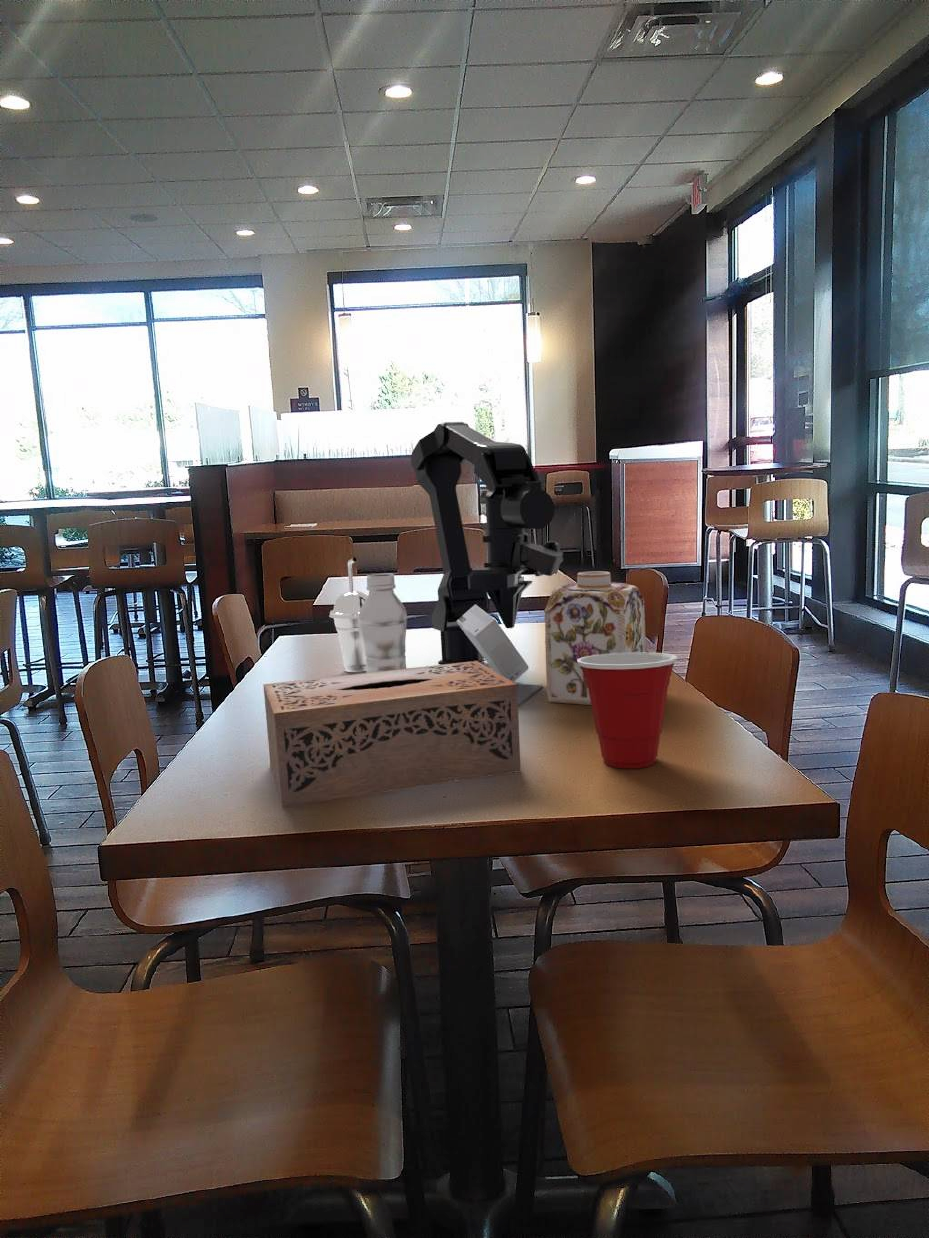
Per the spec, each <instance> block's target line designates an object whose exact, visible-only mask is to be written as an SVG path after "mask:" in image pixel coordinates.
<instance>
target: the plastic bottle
mask: <svg viewBox="0 0 929 1238" xmlns="http://www.w3.org/2000/svg"><path fill="white" fill-rule="evenodd" d="M394 575H395V574H394V573H377V574H375V573H374V574H369V575H366V591H368V595H367V596H368V597H367V598H366V600H365V601H364V603H363V605H362V607H361V609H360V612H359V623H360V628H361V633H362V637H363V642H364V648H365V656H366V664H367V671H366V673H371V672H380V671H389V670H398V669H407V664H406V663H407V661H406V658H407V657H406V651H407V650H406V637H407V624H408V623H407V621H408V614H407V610H406V607H405V605H404V604H403V603H402V601H401V599H400V598H399V597H398V596H397V595H396V594H395V592H394V589H396V583H395V576H394Z"/></svg>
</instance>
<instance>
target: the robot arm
mask: <svg viewBox="0 0 929 1238" xmlns="http://www.w3.org/2000/svg"><path fill="white" fill-rule="evenodd" d="M465 461H467V462H469V463H470V464H472V465H473V466H474V467H473V469H474V470H473V473H474V474H475V476H477V478H478V479H479V480H480V481H481V482H482V483H483V484H484V485H485V486H486V488H484V489H483V490H482V491H481V493H480V498H481V499H485V515H486V516H485V517H486V520H485V521H486V534H485V535H482V543H483V544H484V543H487V554H488V555H487V557H488V558H487V559H488V560H487V561H486V562H484V563H483V565H484V566H483V567H478V568H475V569H473V568H472V566H471V563H470V561H471V560H470V557H469V552H468V551H469V550H468V546H467V540H466V536H465V530H464V525H463V519H462V514H461V509H460V504H459V499H458V492H457V486H458V483H459V480H460V479H461V477H462V474H463V472H462V471H463V470H462V469H463V468H462V465H463V464H464V462H465ZM410 463H411V467H412V468H413V470H414V473H415V476H416V477H415V478H416V480H417V483H418V485H420V487H421V488H423V490H424V491H425V493H427V494H428V497H429V501H430V507H431V511H432V512H431V513H432V517H433V523H434V529H435V535H436V539H437V543H438V550H439V556H440V561H441V567H442V573H443V575H442V577H441V580H440V583H439V585H438V587H437V588H438V589H437V596H438V599H437V601H436V604H435V607H434V609H433V611H432V613H431V616H430V617H431V623H432V624H431V625H432V628H433V630H437V631H439V632H440V646H441V659H440V660H438V662H437V663H438V664H437V665H443V664H453V663H462V662H471V661H478V662H479V663H480V661H482V660H485V659H484V657H483V656H482V655H481V653H480V652H479V651H478V650H477V648H476V647H475V646H474V644H473V643H472V642H471V640H470V639H469V638H468V637H467V635H466V634H465V633H464V631H463V630H462V629H461V627H460V626H459V625H458V623H457V620H458V619H459V618H461V617H462V616H463V615H464V614H465V613H466V612H467V611H468V610H469V609H470V608H472V607H473V606H474V605H477V606H478V607H480V608H481V609H482V610H484V611H485V612H486V613H488V614H489V612H490V603H491V602H492V604H493V607H494V608H495V610H496V612H497V613H498V615H499V617H500V619H501V621H502V623H503V625H504V627H505V628H506V629H514V627H515V626H516V625H515V624H516V621H517V615H518V612H519V611H518V610H519V606H520V602H521V598H522V594H523V592H524V591H525V590H526V589H528V588H529V586H530V585H532V583H533V580H525V577H524V576H530V575H531V576H533V575H534V576H535V577H541V576H548V577H551V576H553V575H554V574H555V575H556V574H558V572H559V569H560V565H561V563H562V562H564V557H563V555H564V552H563V551H562V550H561V544H560V543H559V542H556V541H553V540H549V541H547V542H546V543H545V544H544V545H542V544H535V543H533V542H532V541H531V535H530V534H529V532H525V530H526V529H528V530H531V529H532V530H541V529H543V528H545V527H547V526H549V524H550V523H551V521H552V520H553V518H554V516H555V511H556V508H555V503H554V501H553V498H552V497H551V495H550V494H549V493H548V492H547V491H545V490H543V489H542V482H541V481H540V480H539V478H540V476H539V475H538V474H539V473H537V471H536V470H535V468H534V465H533V463H532V461H531V458H530V456H529V454H528V452H527V450H526V448H525V447H524V446H523V445H522V444H519V443H515V442H501V441H495V440H493V439H491V438H489V437H488V436H486V435H484V434H483V433H480V432H479V431H477V430H475V429H473V428H472V427H470V425H469V424H468V423H465V422H464V421H445V422H444V421H442V422H441V423H438V424H437V425H436V426H435V429H434V430H433V431H430V433H428V434H427V435H425V436H424V437H422V438H420V439H419V440H418V441H417V443H416V445H415V446H414V448H413V450H412V452H411V457H410ZM561 551H562V552H561ZM490 600H491V602H490Z"/></svg>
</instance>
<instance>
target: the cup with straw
mask: <svg viewBox="0 0 929 1238" xmlns="http://www.w3.org/2000/svg"><path fill="white" fill-rule="evenodd" d="M355 562H357V558H356V557H353V558H351V559H349V560H348V561H347V571H348V572H347V573H348V584H349V585H348V587H349V589H348V590H349V591H346V592H344V593H342V594H340V595H339V596H338V597H337V599H336V600H335V602H334V605H333V609H332V610H330V611H329V615H328V616H329V618H331V619H333V620H334V626H335V630H336V632H337V637H338V641H339V647H340V651H341V657H342V664H343V665H344V668H345V669H344V671H345V672H346V673H365V672H367V664H366V656H365V648H364V642H363V637H362V633H361V628H360V623H359V612H360V609H361V607H362V605H363V603H364V601H365V600H366V598H367V597H368V595H367V594H365V593H364V592H361V591H359V590H357V591H356V590H354V580H353V579H354V577H353V575H354V574H353V566H352V565H353V564H354V563H355Z"/></svg>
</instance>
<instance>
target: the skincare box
mask: <svg viewBox="0 0 929 1238" xmlns="http://www.w3.org/2000/svg"><path fill="white" fill-rule="evenodd" d="M457 623H458V625H459V626H460V627H461V629H462V630H463V631H464V633H465V634H466V635H467V637H468V638H469V639H470V640H471V642H472V643H473V644H474V646H475V647H476V648H477V650H478V651H479V652H480V653H481V655H482V656H483V657H484V659H483V660H485V661H486V663H487V664H488V666H490V667H489V668H490V669H491V670H493V671H495V672H497V673H498V674H500V675H502V676H503V677H505V678H507V679H509V680H510V681H512V682H514V683H515V681H516V680H518V679H519V678H520V677H521V676H522V675H524V674H525V673H526V672H527V671H528V670H529V669H530V668H529V665H528V663H527V662H526V661H525V659H524V658H523V656H522V655H521V654H520V652H519V651H518V649H517V648H516V646H515V645H514V644H513V642H512V641H511V639H510V638H509V637H508V636H507V634H506V633H505V631H504V630H503V629H502V627H501V626H500V625H499V623H498V621H497V619H495V618H494V617H493V616H491V614H489V613H486V612H485V611H484V610H482V609H481V608H480V607H478V606H477V605H474V606H473V607H472V608H470V609H469V610H468V611H467V612H466V613H465V614H464V615H463V616H462V617H461V618H459V619H458V620H457Z"/></svg>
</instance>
